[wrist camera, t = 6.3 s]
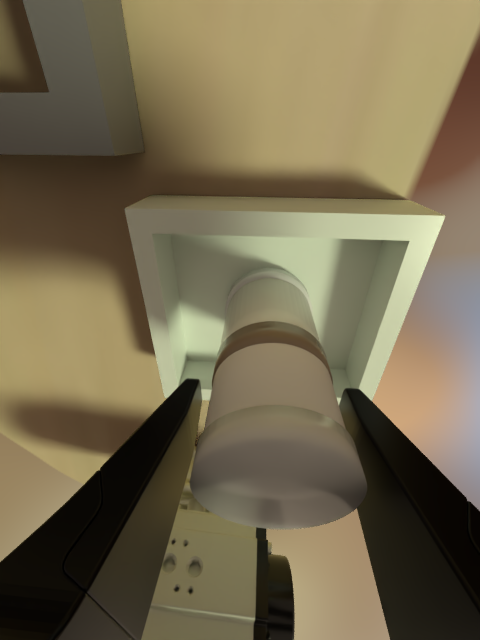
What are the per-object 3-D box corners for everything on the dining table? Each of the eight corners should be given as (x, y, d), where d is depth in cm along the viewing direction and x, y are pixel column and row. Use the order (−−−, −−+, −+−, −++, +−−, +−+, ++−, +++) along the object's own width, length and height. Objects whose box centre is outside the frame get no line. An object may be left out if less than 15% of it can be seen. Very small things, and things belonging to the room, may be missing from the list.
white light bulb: (227, 338, 14) (196, 523, 7) (225, 266, 12) (180, 435, 5) (303, 341, 14) (345, 534, 7) (315, 269, 12) (391, 446, 5)
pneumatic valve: (275, 482, 23) (281, 747, 13) (135, 463, 23) (36, 712, 13) (288, 443, 20) (309, 751, 10) (127, 422, 20) (-11, 705, 10)
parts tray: (177, 363, 16) (164, 397, 14) (151, 195, 11) (124, 208, 9) (353, 373, 16) (368, 411, 14) (409, 199, 11) (445, 215, 9)
